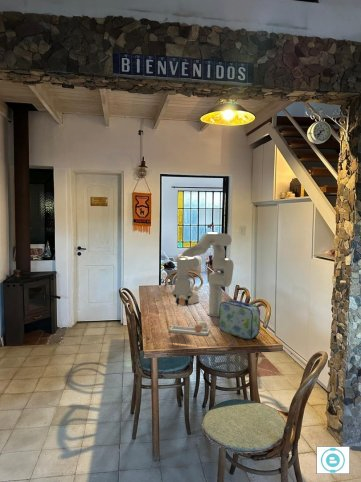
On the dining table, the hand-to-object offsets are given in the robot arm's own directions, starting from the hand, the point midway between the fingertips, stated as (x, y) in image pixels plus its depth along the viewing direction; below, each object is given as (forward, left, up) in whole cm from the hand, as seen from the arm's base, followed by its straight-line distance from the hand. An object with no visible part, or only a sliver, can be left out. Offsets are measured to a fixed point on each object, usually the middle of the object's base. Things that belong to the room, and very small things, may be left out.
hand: (182, 304), depth 217 cm
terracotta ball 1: (0, 0, 0) cm, 0 cm away
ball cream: (0, +14, -15) cm, 20 cm away
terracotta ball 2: (+8, +12, -14) cm, 21 cm away
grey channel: (+8, +7, -15) cm, 19 cm away
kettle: (-67, -12, -16) cm, 70 cm away
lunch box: (+3, +37, -16) cm, 40 cm away
